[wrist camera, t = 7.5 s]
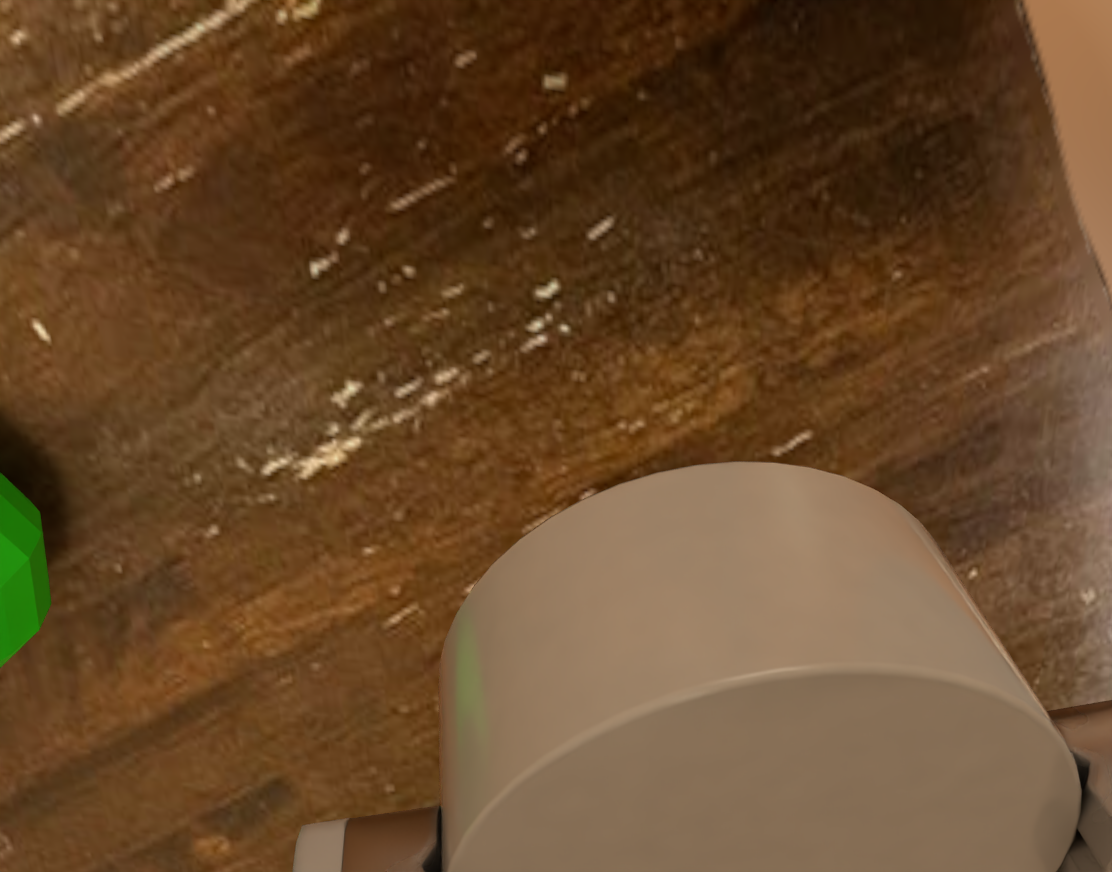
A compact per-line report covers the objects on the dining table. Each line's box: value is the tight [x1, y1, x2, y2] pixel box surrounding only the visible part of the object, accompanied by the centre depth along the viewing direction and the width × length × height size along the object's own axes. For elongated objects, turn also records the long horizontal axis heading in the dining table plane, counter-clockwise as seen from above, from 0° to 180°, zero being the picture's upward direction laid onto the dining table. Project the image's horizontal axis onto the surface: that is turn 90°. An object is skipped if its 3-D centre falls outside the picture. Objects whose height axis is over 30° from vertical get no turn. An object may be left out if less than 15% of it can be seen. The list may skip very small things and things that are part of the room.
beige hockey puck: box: [438, 461, 1082, 872], centre depth 11 cm, size 7×7×3 cm
